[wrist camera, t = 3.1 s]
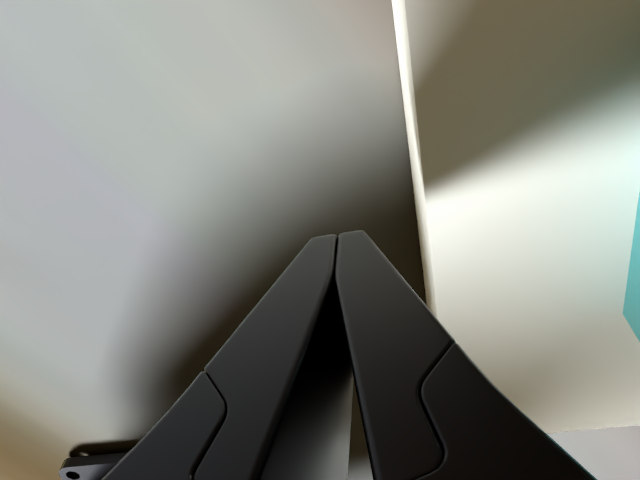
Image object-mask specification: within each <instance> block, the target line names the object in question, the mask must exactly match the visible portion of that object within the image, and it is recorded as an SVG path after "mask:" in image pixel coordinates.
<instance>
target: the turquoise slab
mask: <svg viewBox="0 0 640 480" xmlns="http://www.w3.org/2000/svg"><path fill="white" fill-rule="evenodd" d="M623 315H624V317H625V319H626V320H627V322H628V324H629V325H630V327H631V329H632V330H633V332H634V334H635V335H636V337H637V339H638V340H639V342H640V191H639V198H638V206H637V213H636V220H635V227H634V234H633V242H632V249H631V256H630V263H629V270H628V278H627V285H626V292H625V299H624V307H623Z"/></svg>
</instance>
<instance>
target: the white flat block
mask: <svg viewBox="0 0 640 480" xmlns="http://www.w3.org/2000/svg"><path fill="white" fill-rule="evenodd" d="M392 7H393V16H394V24H395V33H396V42H397V50H398V59H399V68H400V76H401V85H402V94H403V102H404V111H405V120H406V128H407V137H408V146H409V154H410V163H411V172H412V180H413V189H414V198H415V206H416V215H417V224H418V232H419V241H420V250H421V258H422V267H423V276H424V284H425V293H426V302H427V307H428V308H429V310H430V311H431V312H432V313H433V314H434V316H435V317H436V318H437V319H438V320H439V322H440V323H441V324H442V325H443V326H444V328H445V329H446V330H447V331H448V332H449V334H450V335H451V336H452V337H453V338H454V340H455V341H456V343H457V344H459V345H460V347H461V348H462V349H463V350H464V351H465V353H466V354H467V355H468V356H469V357H470V359H471V360H472V361H473V362H474V363H475V364H476V365H477V367H478V368H479V369H480V370H481V371H482V372H483V373H484V374H485V375H486V377H487V378H488V379H489V380H490V381H491V382H492V383H493V384H494V385H495V386H496V387H497V388H498V389H499V390H500V391H501V392H502V393H503V394H504V395H505V396H506V397H507V398H508V399H509V400H510V401H511V402H512V403H513V404H515V405H516V406H517V407H518V408H519V409H520V410H521V411H522V412H523V413H524V414H525V415H526V416H527V417H528V418H530V419H531V420H532V421H533V422H534V423H535V424H536V425H537V426H538V427H540V428H541V429H542V430H543V431H544V432H545V433H557V432H568V431H580V430H591V429H602V428H613V427H624V426H636V425H640V342H639V340H638V339H637V337H636V335H635V334H634V332H633V330H632V329H631V327H630V325H629V324H628V322H627V320H626V319H625V317H624V315H623V307H624V299H625V292H626V285H627V278H628V270H629V263H630V256H631V249H632V242H633V234H634V227H635V220H636V213H637V206H638V198H639V191H640V0H392Z"/></svg>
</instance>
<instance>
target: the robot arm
mask: <svg viewBox="0 0 640 480" xmlns="http://www.w3.org/2000/svg"><path fill="white" fill-rule="evenodd" d="M204 371H205V372H201V373H200V374H199V375H198V376H197V377H196V379H195V380H194V381H193V382H192V383H191V385H190V386H189V387H188V388H187V390H186V391H185V392H184V393H183V394H182V395H181V396H180V398H179V399H178V400H177V401H176V402H175V403H174V404H173V406H172V407H171V408H170V409H169V410H168V411H167V413H166V414H165V415H164V416H163V417H162V418H161V419H160V420H159V421H158V422H157V423H156V424H155V425H154V427H153V428H152V429H151V430H150V431H149V432H148V433H147V434H146V435H145V436H144V437H143V438H142V439H141V440H140V441H139V442H138V443H137V444H136V445H135V446H134V447H133V448H132V449H131V450H130V451H129V452H124V453H114V454H103V455H93V456H82V457H71V458H67V459H66V460H64V462H63V464H62V467H61V469H60V471H59V475H60V477H61V478H62V480H347V478H348V461H349V445H350V429H351V412H352V396H353V377H354V382H355V387H356V392H357V397H358V403H359V408H360V413H361V418H362V423H363V428H364V433H365V439H366V444H367V449H368V454H369V459H370V464H371V469H372V474H373V480H597V479H596V478H595V477H594V476H592V475H591V474H590V473H589V472H588V471H587V470H586V469H585V468H584V467H583V466H581V465H580V464H579V463H578V462H577V461H576V460H575V459H574V458H573V457H572V456H570V455H569V454H568V453H567V452H566V451H565V450H564V449H563V448H562V447H560V446H559V445H558V444H557V443H556V442H555V441H554V440H553V439H552V438H551V437H549V436H548V435H547V434H546V433H545V432H544V431H543V430H542V429H541V428H540V427H538V426H537V425H536V424H535V423H534V422H533V421H532V420H531V419H530V418H528V417H527V416H526V415H525V414H524V413H523V412H522V411H521V410H520V409H519V408H518V407H517V406H516V405H515V404H513V403H512V402H511V401H510V400H509V399H508V398H507V397H506V396H505V395H504V394H503V393H502V392H501V391H500V390H499V389H498V388H497V387H496V386H495V385H494V384H493V383H492V382H491V381H490V380H489V379H488V378H487V377H486V375H485V374H484V373H483V372H482V371H481V370H480V369H479V368H478V367H477V365H476V364H475V363H474V362H473V361H472V360H471V359H470V357H469V356H468V355H467V354H466V353H465V351H464V350H463V349H462V348H461V347H460V345H459V344H457V343H456V341H455V340H454V338H453V337H452V336H451V335H450V334H449V332H448V331H447V330H446V329H445V328H444V326H443V325H442V324H441V323H440V322H439V320H438V319H437V318H436V317H435V316H434V314H433V313H432V312H431V311H430V310H429V308H428V307H427V306H426V305H425V303H424V302H423V301H422V300H421V299H420V297H419V296H418V295H417V294H416V293H415V291H414V290H413V289H412V288H411V287H410V285H409V284H408V283H407V282H406V281H405V279H404V278H403V277H402V276H401V275H400V273H399V272H398V271H397V270H396V268H395V267H394V266H393V265H392V264H391V262H390V261H389V260H388V259H387V258H386V256H385V255H384V254H383V253H382V252H381V250H380V249H379V248H378V247H377V246H376V244H375V243H374V242H373V241H372V240H371V238H370V237H369V236H368V235H367V233H366V232H365V231H363V230H358V231H351V232H344V233H341V234H339V236H337V235H335V234H330V235H323V236H316V237H313V238H311V239H310V240H309V241H308V243H307V244H306V245H305V246H304V247H303V249H302V250H301V251H300V252H299V254H298V255H297V256H296V257H295V258H294V260H293V261H292V262H291V263H290V265H289V266H288V267H287V268H286V269H285V271H284V272H283V273H282V274H281V275H280V277H279V278H278V279H277V280H276V282H275V283H274V284H273V285H272V286H271V288H270V289H269V290H268V291H267V293H266V294H265V295H264V296H263V297H262V299H261V300H260V301H259V302H258V303H257V305H256V306H255V307H254V308H253V310H252V311H251V312H250V313H249V314H248V316H247V317H246V318H245V319H244V320H243V322H242V323H241V324H240V325H239V327H238V328H237V329H236V330H235V331H234V333H233V334H232V335H231V336H230V338H229V339H228V340H227V341H226V342H225V344H224V345H223V346H222V347H221V348H220V350H219V351H218V352H217V353H216V355H215V356H214V357H213V358H212V359H211V361H210V362H209V363H208V364H207V365H206V367H205V368H204Z"/></svg>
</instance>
